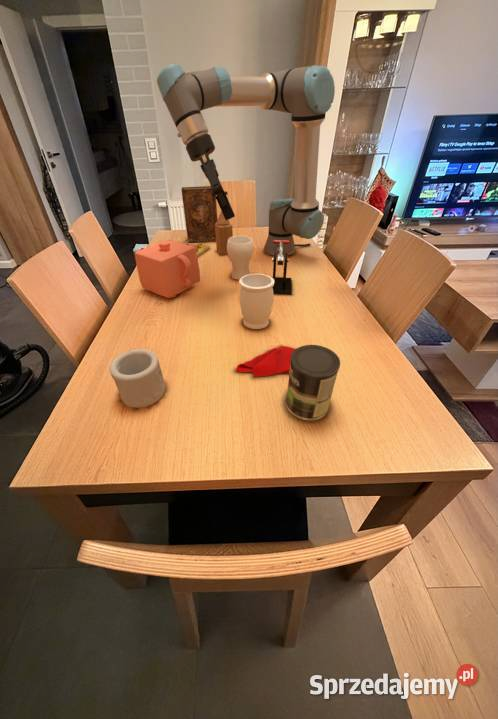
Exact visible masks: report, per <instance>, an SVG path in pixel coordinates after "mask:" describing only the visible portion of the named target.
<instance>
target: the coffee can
mask: <svg viewBox="0 0 498 719" xmlns="http://www.w3.org/2000/svg"><path fill="white" fill-rule="evenodd" d="M294 349H295V350H294V351H293V353H292V354H291V364H290V373H289V374H288V381H287V382H288V383H287V389H286V390H287V391H286V397H285V406H286V409H287V410H288V412H289V413H290V414H291V415H292V416H294V417H295V418H297V419H300V420H303V421H308V422H309V421H312V422H313V421H317V420H321V419H322V418H323V417H325V416H326V415H327V413H328V411H329V406H330V402H331V399H332V395H333V391H334V388H335V383H336V381H337V376H338V372H339V370H340V368H341V360H340V357H339V356H338V354H336V352H334V351H333V350H331V349H330V348H329V347H326V346H323V345H318V344H305V345H301V346H299V347H297V348H294Z"/></svg>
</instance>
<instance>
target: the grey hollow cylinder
mask: <svg viewBox="0 0 498 719" xmlns="http://www.w3.org/2000/svg"><path fill="white" fill-rule="evenodd" d="M158 357H159V356H158V355H157V354H156V353H155V352H153V351H152V350H150V349H145V348H134V349H129V350H127V351H124V352H122V353H120V354H119V355H117V356H116V357H115V358H114V359H113V360H112V362H111V363H110V366H109V373H110V375H111V377H112V379H113V381H114V384H115V386H116V388H117V390H118V393H119V398H120V399H121V401H122V403H123V404H124V405H126V406H127V407H130V408H138V409H139V408H145V407H149V406H151V405H153V404H155V403H156V402H158V401H159V400H160V399H162V397H163V395H164V394H165V392H166V383H165V380H164V376H163V372H162V368H161V365H160V361H159V358H158Z"/></svg>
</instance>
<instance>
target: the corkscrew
mask: <svg viewBox="0 0 498 719" xmlns="http://www.w3.org/2000/svg"><path fill="white" fill-rule="evenodd" d="M273 244H280V250H279V255H278V257H277V259H276V266H284V258H285V257H284V255H282V249H283V244H289V240H274V243H273Z"/></svg>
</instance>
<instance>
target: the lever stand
mask: <svg viewBox="0 0 498 719" xmlns="http://www.w3.org/2000/svg"><path fill="white" fill-rule="evenodd" d="M271 260H272V261H271V262H273V265H272V267H273V268H272V276H271V277H272V278H273V279H274V286H273V295H282V296H283V295H285V296H287V295H288V296H292V294H293V286H292V284H293V283H292V277H287V270H288V263H289V261H290V258H289V256H288V253H285V257H284V261H283V272H282V276H280V277H279V276H276V273H277V272H276V271H277V260H278V257H277V253H274V256H273V257H272V258H271Z"/></svg>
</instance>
